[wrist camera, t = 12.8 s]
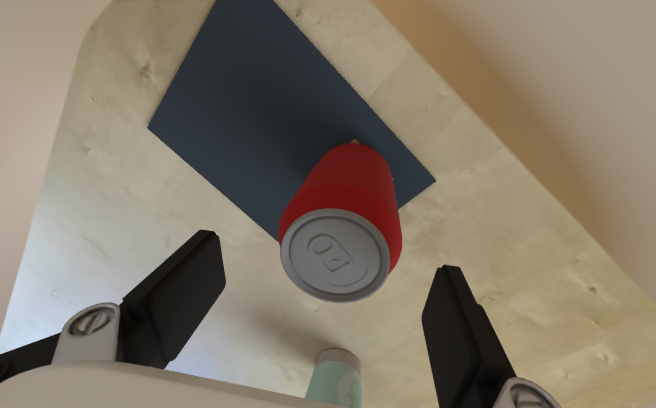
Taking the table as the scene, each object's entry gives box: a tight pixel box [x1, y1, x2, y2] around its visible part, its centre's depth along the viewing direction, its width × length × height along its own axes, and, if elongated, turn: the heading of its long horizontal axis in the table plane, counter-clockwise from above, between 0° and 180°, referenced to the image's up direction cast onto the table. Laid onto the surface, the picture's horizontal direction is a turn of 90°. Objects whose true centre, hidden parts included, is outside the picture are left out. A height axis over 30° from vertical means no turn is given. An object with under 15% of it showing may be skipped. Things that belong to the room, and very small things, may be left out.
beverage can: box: [278, 143, 402, 303], centre depth 18 cm, size 7×7×12 cm
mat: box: [147, 0, 436, 242], centre depth 23 cm, size 22×16×1 cm
